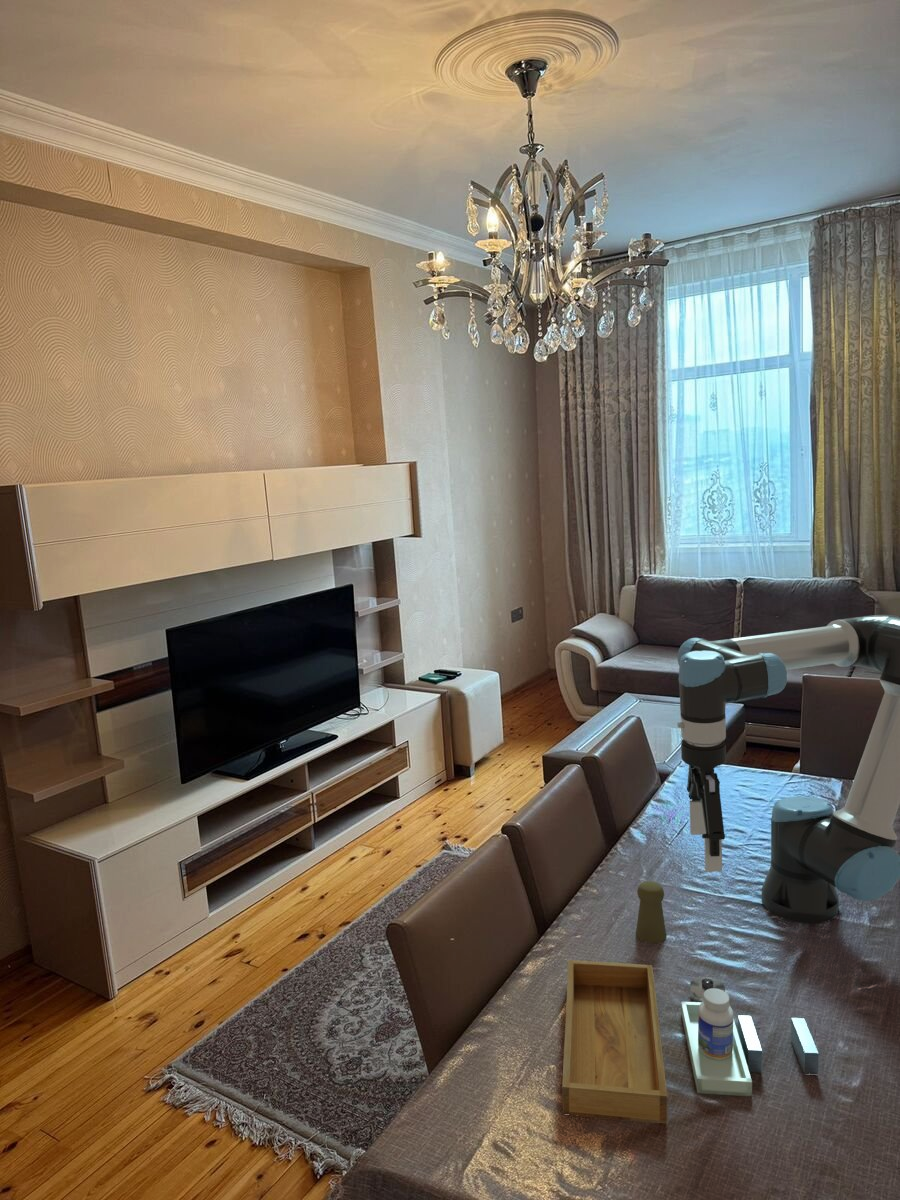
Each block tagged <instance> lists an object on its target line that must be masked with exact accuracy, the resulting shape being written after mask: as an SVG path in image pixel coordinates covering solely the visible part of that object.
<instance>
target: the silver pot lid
mask: <svg viewBox="0 0 900 1200" xmlns="http://www.w3.org/2000/svg"><path fill="white" fill-rule="evenodd" d="M711 988H716V989H720V990H723V991H724V992H726V987H725V984H723V982H721V981H720V980H718V979H716V978H714V977H710V976H698V977H695V978H693V979H692V980H690V983H689V998H690V999H691V1002H703V996H704V992H705V991H706V990H708V989H711Z"/></svg>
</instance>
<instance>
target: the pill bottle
mask: <svg viewBox="0 0 900 1200" xmlns="http://www.w3.org/2000/svg"><path fill="white" fill-rule="evenodd" d="M730 1003H731V1001H730V995H729V994H728V993H727V992H726V991H725V992H724V991H723V990H720V989H716V988H711V989H708V990H706V991H705V992H704V996H703V1002H702V1003H701V1004H700V1006H699V1012H698V1047H699V1050H700V1051H701V1052H702V1054H704V1055H705V1056H707V1057H708V1058H711V1059H715V1060H724V1059H727V1058H729V1057H730V1056H731V1054H732V1049H733V1018H734V1010H733V1009H732V1007H731V1005H730ZM729 1005H730V1006H729Z"/></svg>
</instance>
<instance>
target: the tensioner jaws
mask: <svg viewBox="0 0 900 1200" xmlns="http://www.w3.org/2000/svg"><path fill="white" fill-rule="evenodd" d="M790 1019H791V1021H790V1023H791V1024H790V1041H791V1044H792V1046H793V1049H794V1051H795V1055H796V1056H797V1059H799V1060H798V1062H799V1065H800V1068H801V1067H802V1068H801V1069H803V1070H802V1073H803V1072H804V1073H803V1075H804V1074H809V1073H810V1074H818V1075H819V1057H820V1056H819V1055H820V1053H819V1051H818V1049H817V1045H816V1044H815V1041H814V1039H813V1036H812V1034H811V1032H810V1029H809V1027H808V1024H807V1022H806V1020H805V1018H803V1017H802V1018H801V1017H800V1018H799V1017H791V1018H790ZM754 1024H755V1023H754V1022H753V1019H752V1016H751V1015H738V1017H737V1032H738V1035H739V1039H740V1042H741V1046H742V1049H743V1053H744V1056H745V1059H746V1063H747V1066H748V1070H749V1073H751V1074H753V1073H755V1074H762V1066H763V1065H762V1064H763V1063H762V1061H763V1060H762V1059H763V1050H762V1047H761V1043H760V1040H759V1038H758V1037H759V1036H758V1034H757V1030H756V1027H755V1025H754Z"/></svg>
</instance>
